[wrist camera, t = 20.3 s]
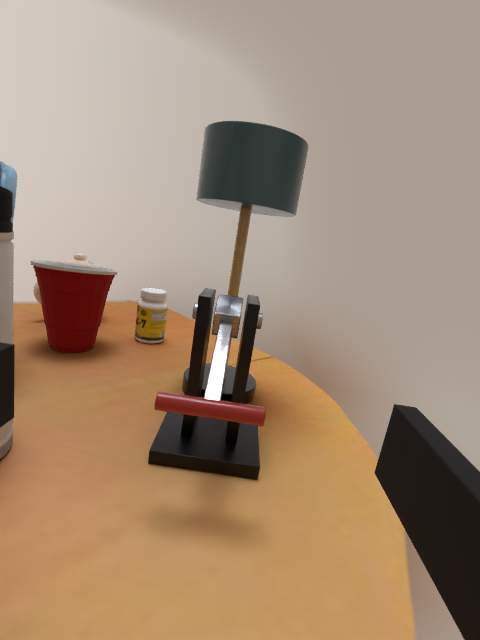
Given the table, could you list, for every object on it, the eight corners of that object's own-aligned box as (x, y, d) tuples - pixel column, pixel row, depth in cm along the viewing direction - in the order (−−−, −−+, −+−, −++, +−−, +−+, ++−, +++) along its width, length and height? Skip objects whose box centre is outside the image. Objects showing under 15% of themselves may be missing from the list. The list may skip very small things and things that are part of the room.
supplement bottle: (130, 335, 58) (134, 286, 57) (156, 334, 61) (161, 287, 59) (141, 345, 55) (146, 293, 53) (168, 343, 58) (174, 293, 56)
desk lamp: (164, 404, 38) (198, 113, 31) (182, 367, 48) (210, 145, 42) (263, 419, 38) (318, 132, 31) (260, 379, 49) (300, 159, 42)
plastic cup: (118, 338, 56) (123, 264, 54) (104, 362, 46) (110, 273, 43) (45, 331, 54) (48, 254, 52) (14, 355, 44) (15, 260, 41)
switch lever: (260, 435, 23) (267, 412, 21) (154, 419, 23) (154, 395, 21) (265, 323, 32) (269, 301, 31) (190, 311, 32) (191, 289, 31)
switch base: (257, 479, 28) (288, 316, 25) (148, 463, 28) (166, 297, 25) (254, 417, 38) (277, 294, 35) (173, 405, 38) (188, 281, 35)
